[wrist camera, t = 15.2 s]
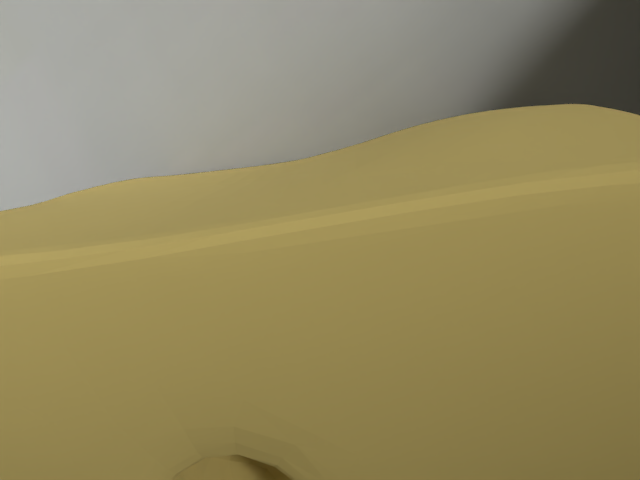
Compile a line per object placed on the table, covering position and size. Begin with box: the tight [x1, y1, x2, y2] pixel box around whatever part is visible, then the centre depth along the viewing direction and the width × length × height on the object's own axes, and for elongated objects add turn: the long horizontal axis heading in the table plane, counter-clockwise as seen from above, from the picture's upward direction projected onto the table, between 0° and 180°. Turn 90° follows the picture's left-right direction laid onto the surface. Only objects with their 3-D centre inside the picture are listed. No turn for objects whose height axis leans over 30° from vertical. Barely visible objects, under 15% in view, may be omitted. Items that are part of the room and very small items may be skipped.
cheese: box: [0, 104, 640, 480], centre depth 10 cm, size 10×11×10 cm
